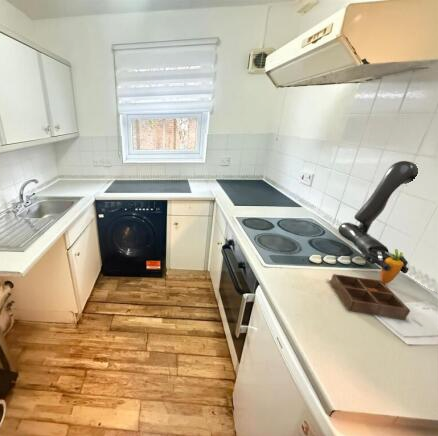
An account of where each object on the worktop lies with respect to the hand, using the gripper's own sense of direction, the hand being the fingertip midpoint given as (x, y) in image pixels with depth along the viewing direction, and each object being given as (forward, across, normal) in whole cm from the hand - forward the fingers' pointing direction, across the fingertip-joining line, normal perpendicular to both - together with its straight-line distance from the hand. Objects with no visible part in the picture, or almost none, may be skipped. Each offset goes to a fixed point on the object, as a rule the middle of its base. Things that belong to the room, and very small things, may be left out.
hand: (397, 270), depth 87 cm
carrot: (-3, 0, +9) cm, 9 cm away
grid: (+9, -12, +8) cm, 17 cm away
